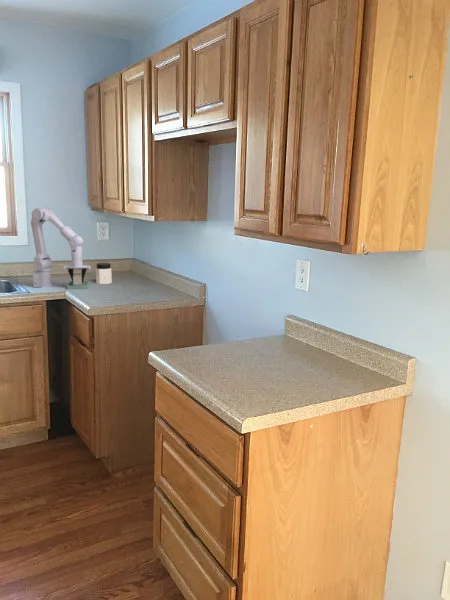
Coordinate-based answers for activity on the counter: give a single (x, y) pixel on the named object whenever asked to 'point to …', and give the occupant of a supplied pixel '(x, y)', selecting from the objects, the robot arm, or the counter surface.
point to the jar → (103, 273)
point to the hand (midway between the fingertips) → (77, 282)
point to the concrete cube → (77, 280)
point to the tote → (85, 286)
